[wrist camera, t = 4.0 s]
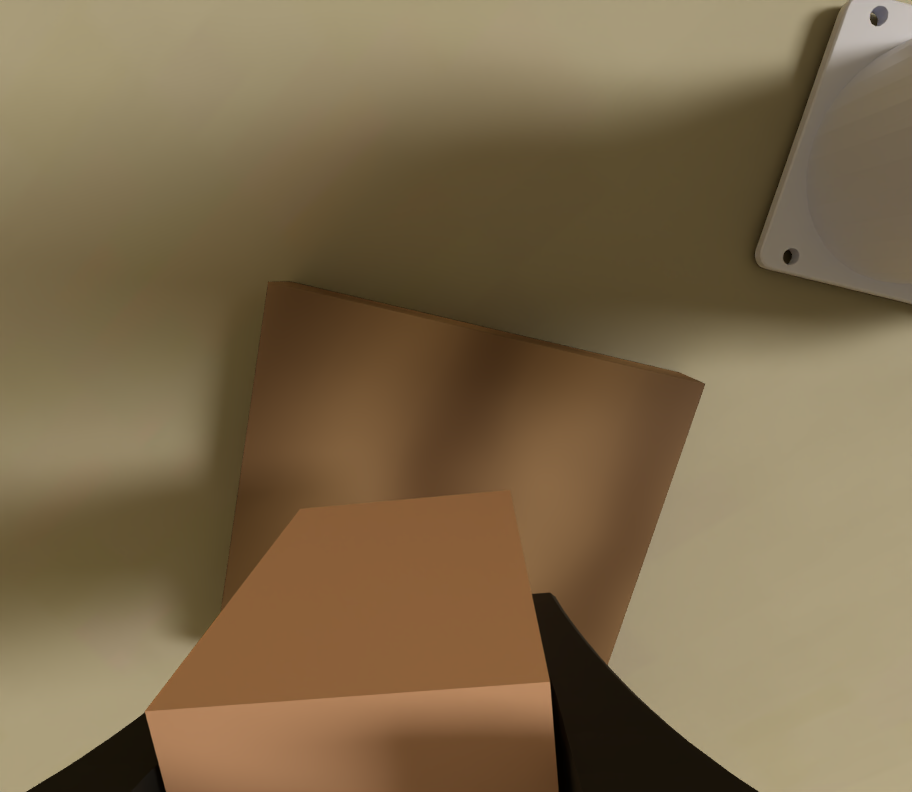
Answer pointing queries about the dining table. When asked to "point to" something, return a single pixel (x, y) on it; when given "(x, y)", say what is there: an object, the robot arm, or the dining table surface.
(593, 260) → the dining table surface
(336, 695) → the terracotta block
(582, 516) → the walnut base
